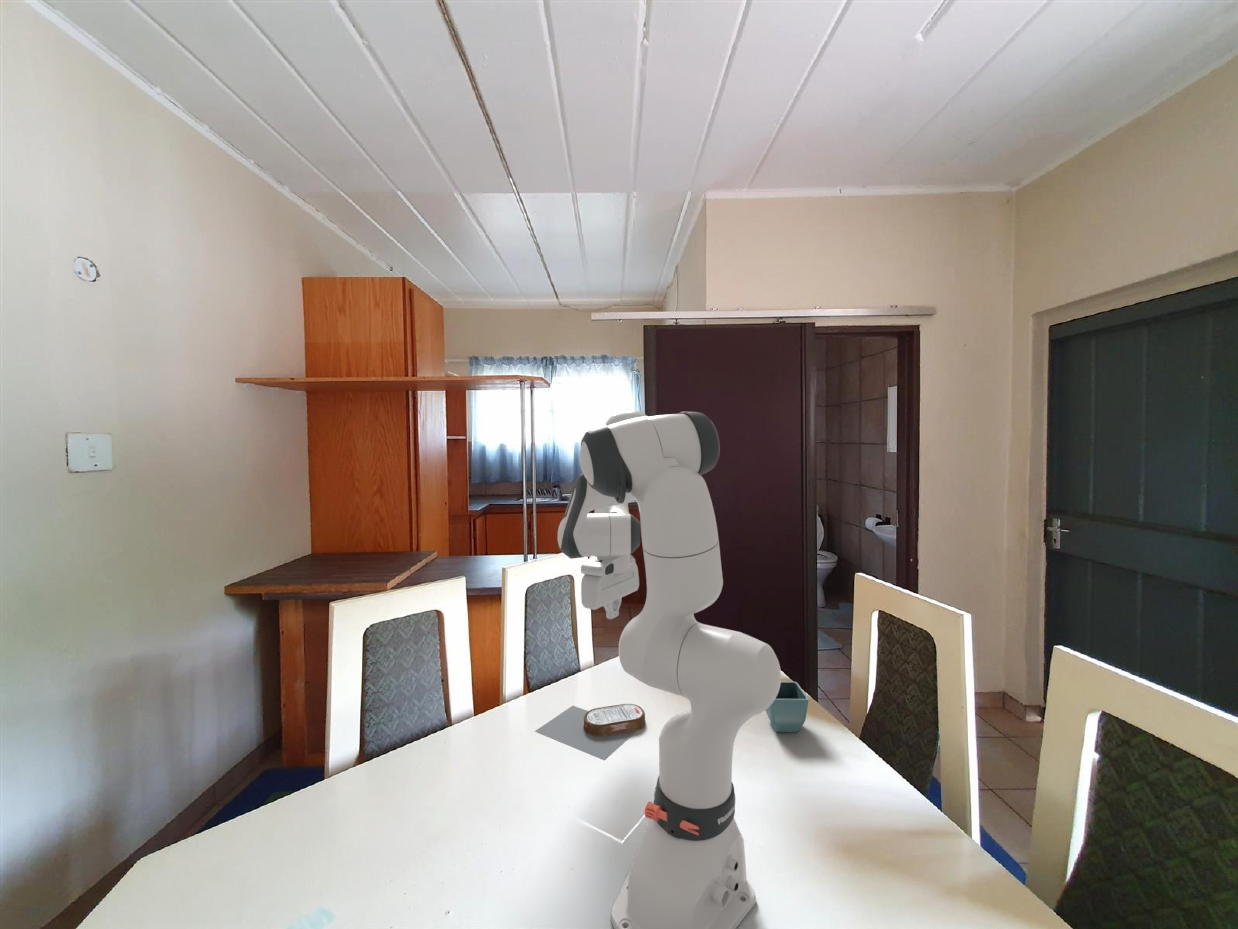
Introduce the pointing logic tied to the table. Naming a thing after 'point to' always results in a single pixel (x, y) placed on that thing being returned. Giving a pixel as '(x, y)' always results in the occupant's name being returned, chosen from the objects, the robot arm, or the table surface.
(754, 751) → the table surface
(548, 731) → the mat
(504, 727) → the table surface
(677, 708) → the table surface
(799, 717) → the flower pot
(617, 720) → the tin
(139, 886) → the table surface
